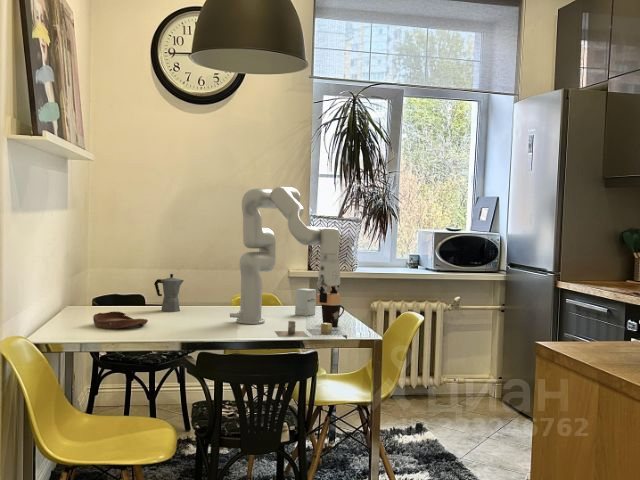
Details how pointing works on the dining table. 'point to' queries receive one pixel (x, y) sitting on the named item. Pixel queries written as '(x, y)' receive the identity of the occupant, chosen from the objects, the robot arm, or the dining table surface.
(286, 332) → the stand
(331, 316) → the coffee mug
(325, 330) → the base plate
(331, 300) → the collar
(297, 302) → the supplement box
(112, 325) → the brown wooden bowl
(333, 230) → the robot arm
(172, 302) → the coffeepot
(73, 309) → the dining table surface
